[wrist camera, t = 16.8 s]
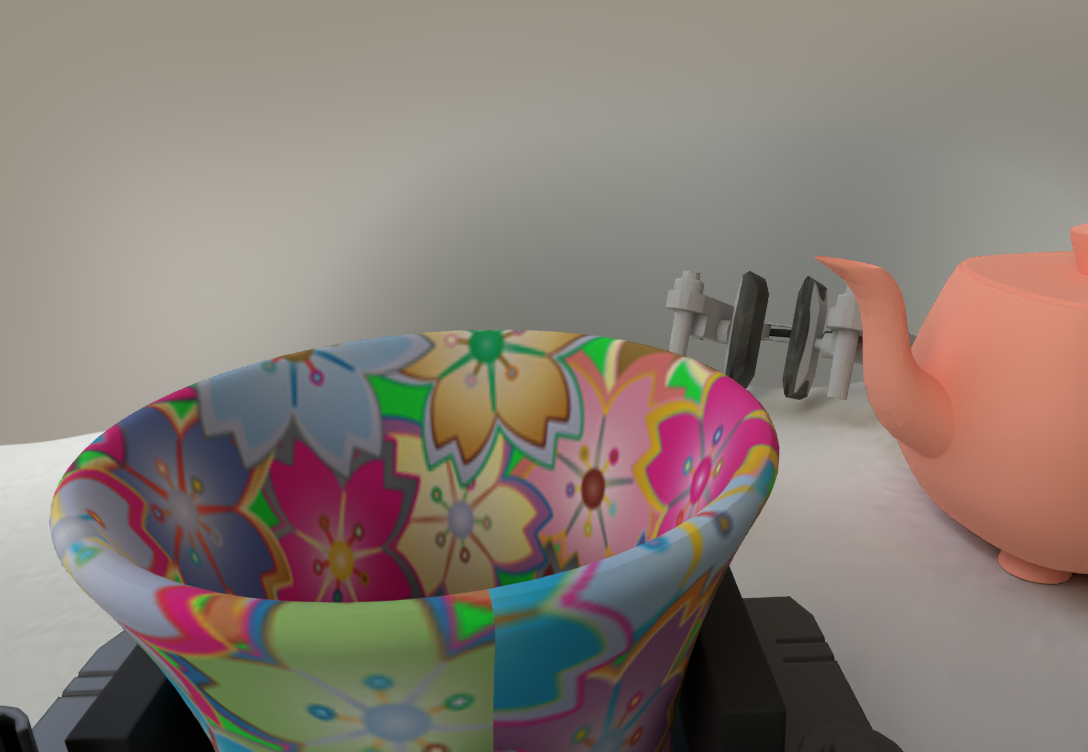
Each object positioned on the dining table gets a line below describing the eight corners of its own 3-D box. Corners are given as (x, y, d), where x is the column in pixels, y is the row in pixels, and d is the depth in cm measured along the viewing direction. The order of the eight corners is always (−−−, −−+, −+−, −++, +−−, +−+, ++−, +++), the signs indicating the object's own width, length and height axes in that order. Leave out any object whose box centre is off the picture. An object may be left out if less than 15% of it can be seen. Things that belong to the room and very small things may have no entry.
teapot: (760, 466, 39) (770, 216, 36) (1174, 448, 39) (1229, 193, 35) (860, 636, 27) (892, 277, 23) (1474, 612, 26) (1612, 242, 22)
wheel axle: (648, 253, 47) (766, 306, 63) (627, 369, 47) (751, 391, 63) (896, 272, 39) (958, 326, 55) (870, 411, 39) (939, 424, 55)
